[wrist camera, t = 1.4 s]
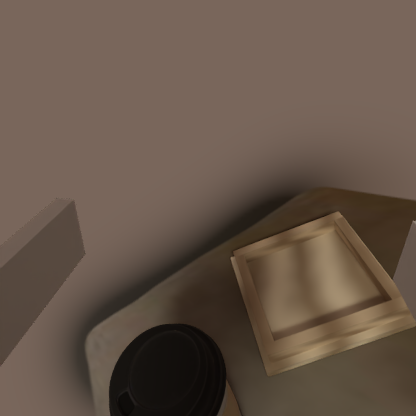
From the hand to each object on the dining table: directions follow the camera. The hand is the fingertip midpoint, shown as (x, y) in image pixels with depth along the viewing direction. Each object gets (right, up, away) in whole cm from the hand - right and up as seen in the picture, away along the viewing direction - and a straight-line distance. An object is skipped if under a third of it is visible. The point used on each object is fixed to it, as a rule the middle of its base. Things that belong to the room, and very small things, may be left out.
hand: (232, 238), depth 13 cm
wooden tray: (+12, -9, +29) cm, 32 cm away
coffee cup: (0, -22, +21) cm, 30 cm away
